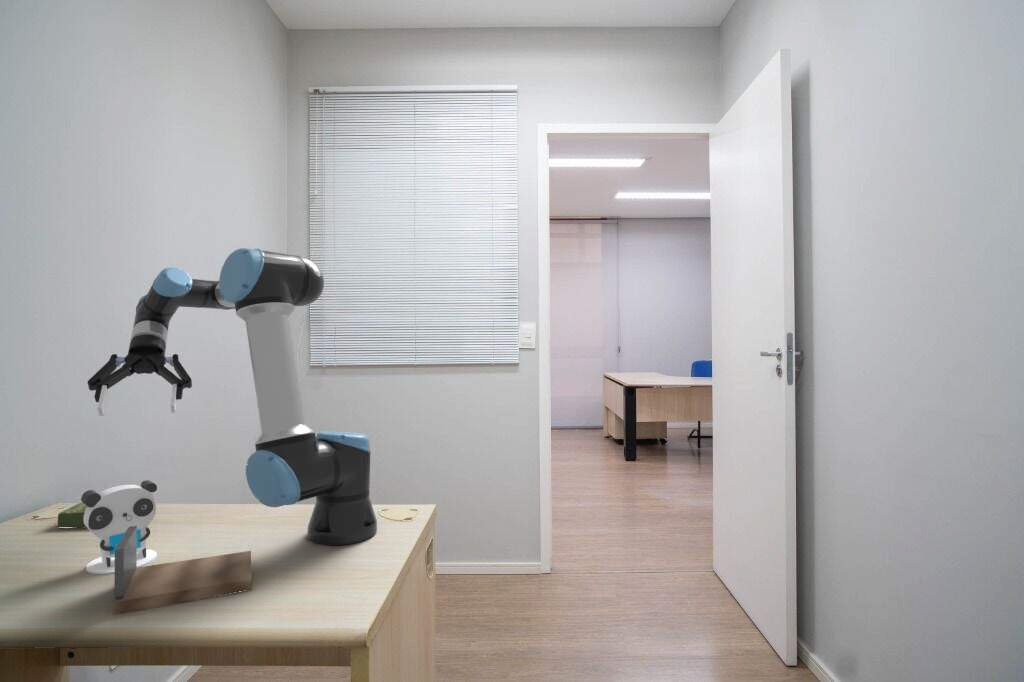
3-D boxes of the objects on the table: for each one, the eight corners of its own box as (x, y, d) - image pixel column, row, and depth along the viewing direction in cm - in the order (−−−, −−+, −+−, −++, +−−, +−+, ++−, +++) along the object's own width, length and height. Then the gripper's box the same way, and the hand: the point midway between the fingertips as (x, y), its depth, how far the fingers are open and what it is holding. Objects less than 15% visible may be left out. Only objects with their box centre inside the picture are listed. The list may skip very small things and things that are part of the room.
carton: (132, 527, 127) (132, 509, 127) (56, 530, 125) (56, 512, 125) (150, 515, 135) (150, 498, 135) (79, 518, 133) (79, 501, 133)
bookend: (136, 569, 99) (136, 525, 99) (123, 598, 88) (123, 548, 88) (128, 570, 98) (128, 526, 98) (114, 599, 87) (114, 550, 87)
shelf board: (250, 560, 108) (250, 550, 108) (251, 590, 95) (251, 578, 95) (129, 579, 99) (129, 568, 99) (112, 614, 86) (112, 602, 86)
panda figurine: (89, 580, 98) (90, 498, 98) (75, 563, 106) (76, 487, 106) (165, 561, 108) (165, 485, 107) (146, 546, 115) (147, 475, 115)
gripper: (206, 353, 144) (201, 417, 130) (89, 353, 133) (71, 423, 119) (205, 333, 139) (200, 397, 126) (83, 331, 128) (64, 402, 114)
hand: (137, 410), depth 122 cm, fingers open, 13 cm apart
